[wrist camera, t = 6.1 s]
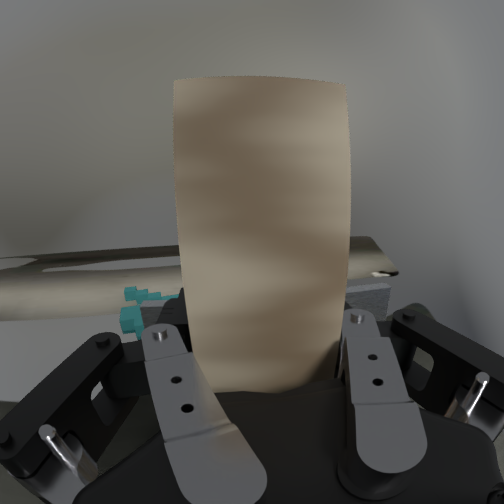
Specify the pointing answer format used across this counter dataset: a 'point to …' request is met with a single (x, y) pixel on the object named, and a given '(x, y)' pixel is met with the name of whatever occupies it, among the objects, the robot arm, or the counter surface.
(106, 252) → the counter surface
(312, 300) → the plywood board
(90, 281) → the counter surface
